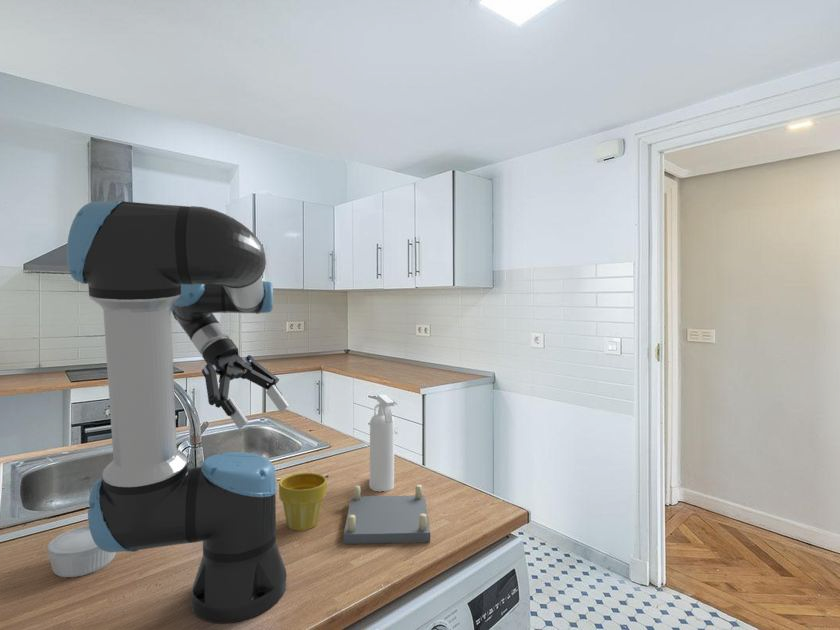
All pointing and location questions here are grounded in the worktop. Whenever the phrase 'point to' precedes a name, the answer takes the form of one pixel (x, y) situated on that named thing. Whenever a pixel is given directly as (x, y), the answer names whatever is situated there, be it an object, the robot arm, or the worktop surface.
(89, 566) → the ramekin
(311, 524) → the plant pot
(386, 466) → the white spray bottle
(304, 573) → the worktop surface
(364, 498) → the peg board
